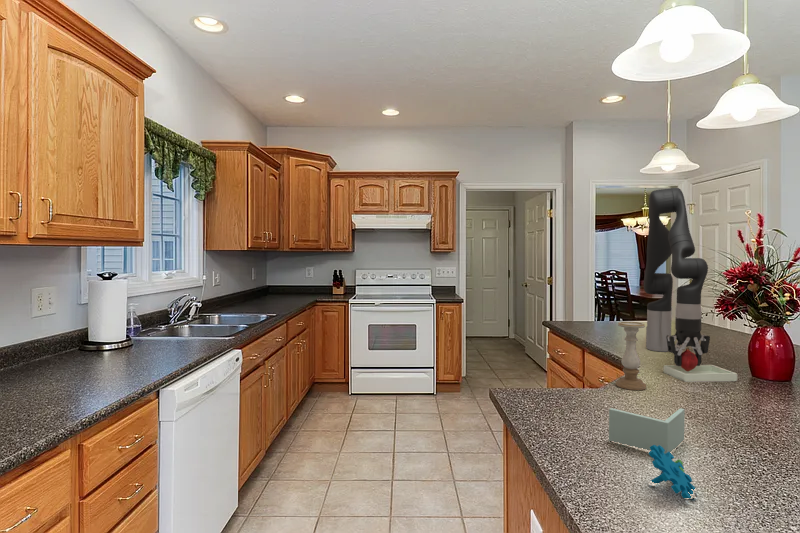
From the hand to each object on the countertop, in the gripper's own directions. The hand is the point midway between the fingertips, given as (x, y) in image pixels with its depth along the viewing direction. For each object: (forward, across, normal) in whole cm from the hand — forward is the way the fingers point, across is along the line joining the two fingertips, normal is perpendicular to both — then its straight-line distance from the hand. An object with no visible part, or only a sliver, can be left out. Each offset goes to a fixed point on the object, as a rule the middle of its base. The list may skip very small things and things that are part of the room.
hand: (687, 365), depth 156 cm
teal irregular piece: (+4, +50, +73) cm, 89 cm away
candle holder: (+4, +25, +10) cm, 27 cm away
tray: (+4, -4, 0) cm, 6 cm away
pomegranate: (+2, 0, 0) cm, 2 cm away
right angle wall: (+4, +43, +52) cm, 68 cm away
